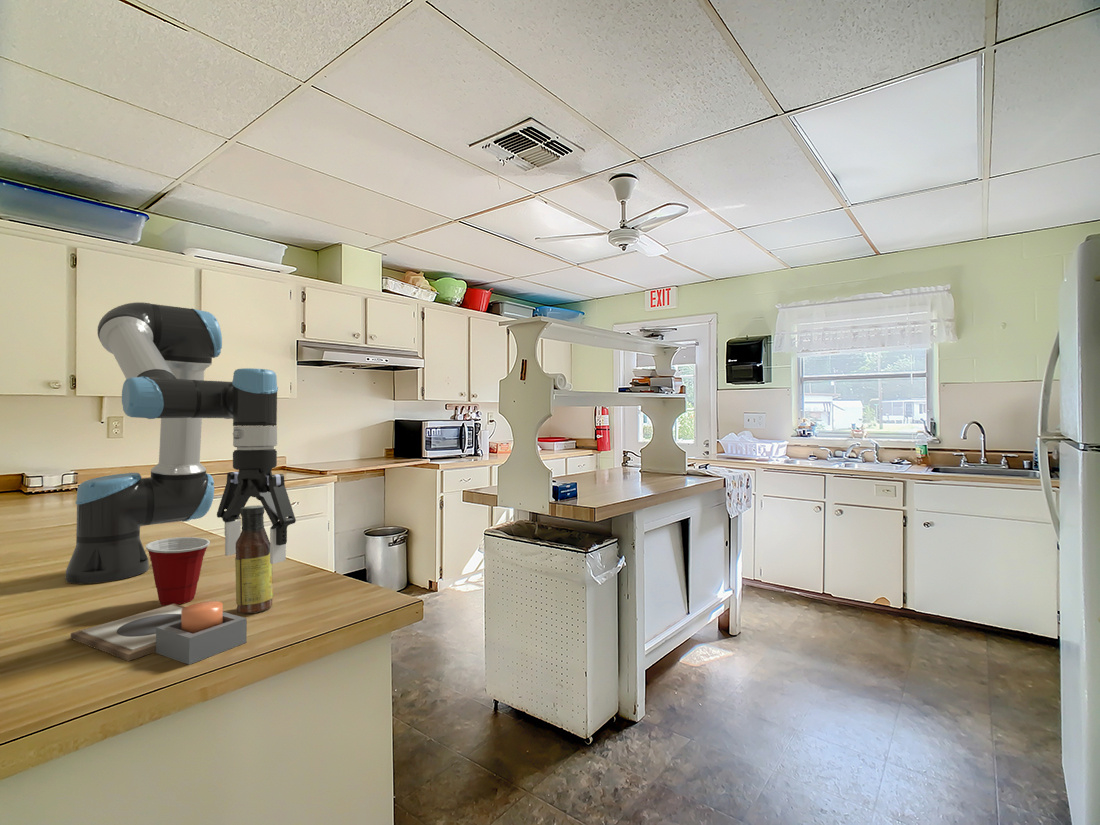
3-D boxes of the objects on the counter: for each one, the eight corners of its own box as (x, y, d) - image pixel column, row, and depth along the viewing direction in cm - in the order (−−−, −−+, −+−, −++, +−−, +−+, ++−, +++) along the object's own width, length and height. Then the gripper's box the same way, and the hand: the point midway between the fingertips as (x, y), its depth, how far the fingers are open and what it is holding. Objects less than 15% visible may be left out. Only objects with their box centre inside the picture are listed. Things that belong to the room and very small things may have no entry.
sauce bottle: (280, 605, 106) (280, 505, 106) (253, 616, 100) (254, 510, 100) (254, 602, 108) (255, 503, 109) (226, 612, 102) (227, 508, 103)
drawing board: (70, 638, 90) (70, 631, 90) (173, 608, 104) (173, 602, 104) (128, 661, 82) (128, 652, 82) (231, 625, 96) (231, 617, 96)
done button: (173, 631, 86) (173, 609, 86) (209, 620, 91) (209, 599, 91) (194, 638, 83) (194, 615, 83) (230, 625, 88) (230, 604, 88)
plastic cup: (177, 612, 102) (177, 549, 103) (130, 608, 105) (131, 546, 105) (222, 594, 113) (223, 537, 113) (179, 590, 115) (179, 534, 115)
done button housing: (155, 652, 85) (155, 627, 85) (213, 632, 93) (213, 609, 93) (189, 664, 81) (189, 638, 81) (246, 642, 89) (246, 618, 89)
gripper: (197, 448, 107) (196, 555, 107) (280, 450, 96) (280, 570, 95) (233, 446, 114) (233, 547, 113) (315, 448, 102) (315, 560, 102)
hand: (254, 558), depth 104 cm, fingers open, 13 cm apart
